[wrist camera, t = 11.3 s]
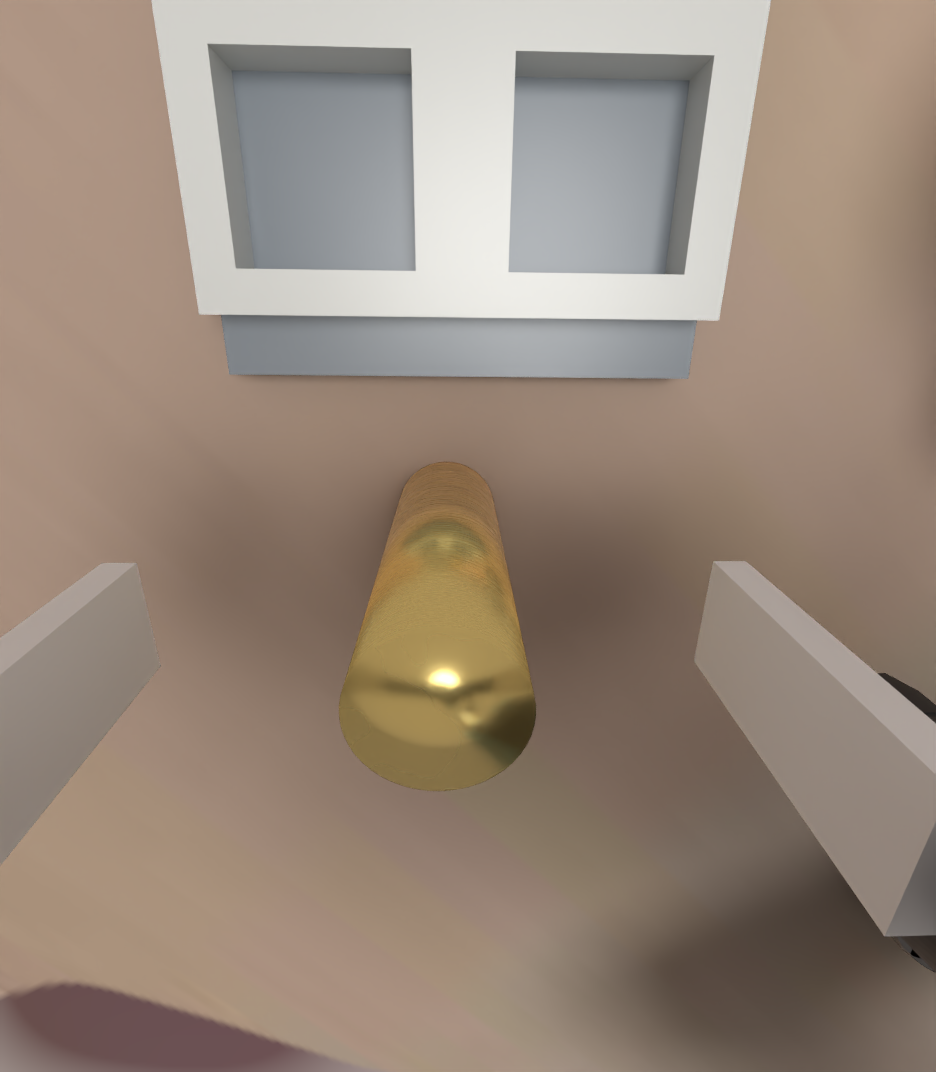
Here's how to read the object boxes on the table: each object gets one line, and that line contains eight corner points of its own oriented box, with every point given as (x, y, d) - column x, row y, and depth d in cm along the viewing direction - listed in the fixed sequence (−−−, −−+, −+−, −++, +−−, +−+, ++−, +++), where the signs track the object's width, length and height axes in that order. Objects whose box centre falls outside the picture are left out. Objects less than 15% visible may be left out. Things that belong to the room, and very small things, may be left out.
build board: (672, 374, 20) (708, 384, 17) (244, 370, 19) (208, 379, 17) (729, -30, 16) (787, -105, 13) (190, -45, 15) (132, -124, 13)
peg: (492, 551, 22) (530, 790, 11) (400, 551, 22) (345, 792, 11) (495, 462, 21) (541, 630, 10) (397, 461, 21) (331, 630, 10)
